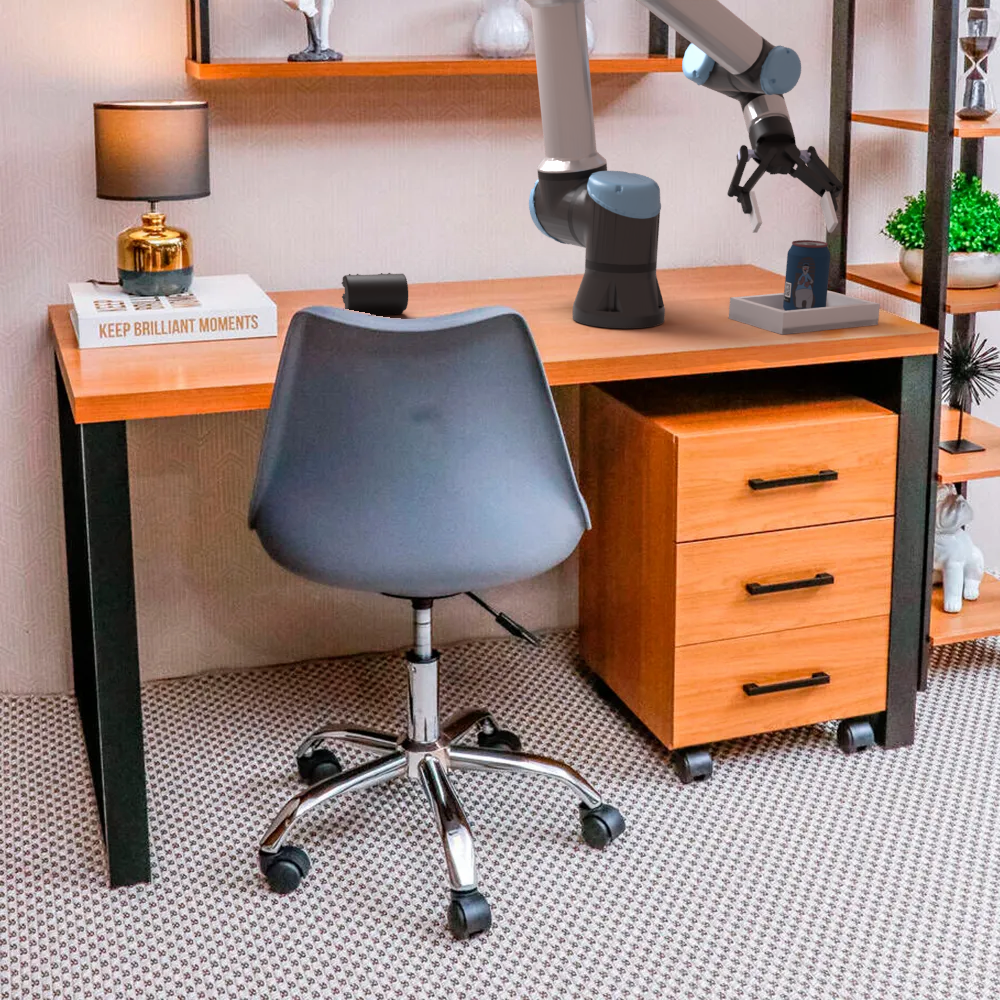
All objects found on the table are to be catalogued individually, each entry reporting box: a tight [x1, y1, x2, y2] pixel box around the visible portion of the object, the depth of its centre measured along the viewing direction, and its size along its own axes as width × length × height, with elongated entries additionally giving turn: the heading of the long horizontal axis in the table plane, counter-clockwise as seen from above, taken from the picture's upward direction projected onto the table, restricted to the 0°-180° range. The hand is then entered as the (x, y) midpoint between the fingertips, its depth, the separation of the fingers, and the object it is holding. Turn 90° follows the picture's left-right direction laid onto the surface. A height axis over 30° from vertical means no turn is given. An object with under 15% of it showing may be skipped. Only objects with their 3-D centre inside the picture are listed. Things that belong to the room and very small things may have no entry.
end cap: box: [341, 272, 409, 316], centre depth 236 cm, size 10×7×7 cm
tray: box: [728, 289, 881, 335], centre depth 237 cm, size 20×14×4 cm
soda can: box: [783, 239, 831, 311], centre depth 236 cm, size 7×7×12 cm
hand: (795, 227), depth 240 cm, fingers open, 13 cm apart
